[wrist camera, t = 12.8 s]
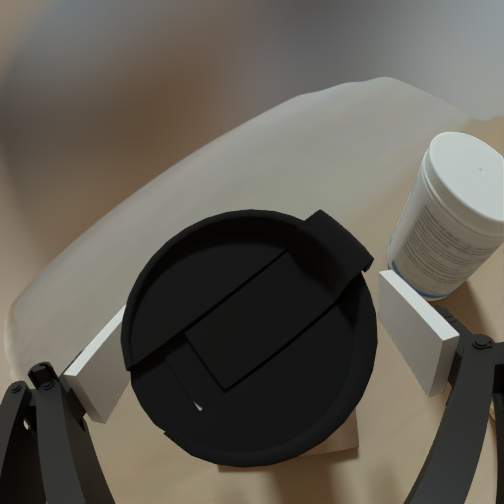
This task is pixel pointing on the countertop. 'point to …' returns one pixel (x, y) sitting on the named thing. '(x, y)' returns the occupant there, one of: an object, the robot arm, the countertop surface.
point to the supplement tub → (450, 216)
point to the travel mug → (252, 335)
